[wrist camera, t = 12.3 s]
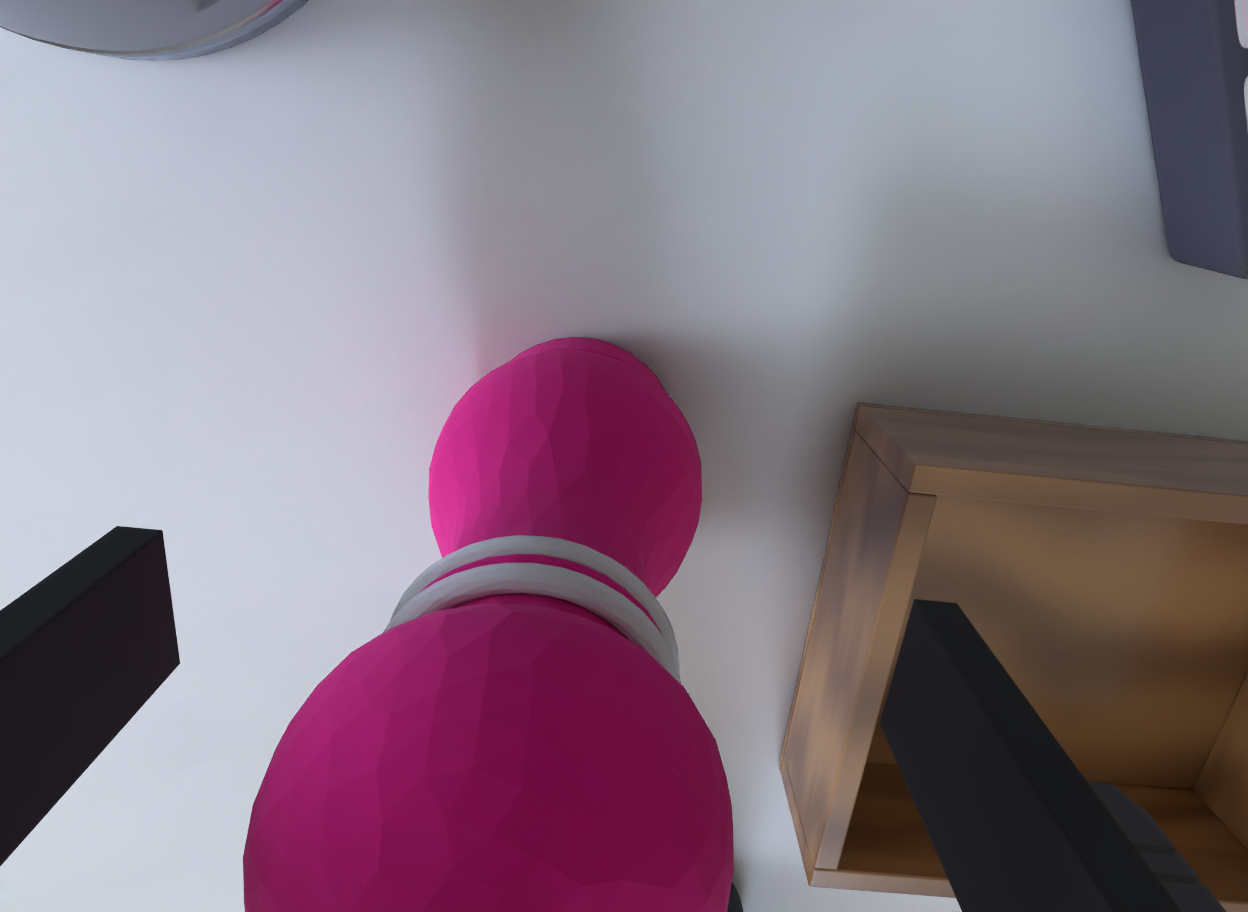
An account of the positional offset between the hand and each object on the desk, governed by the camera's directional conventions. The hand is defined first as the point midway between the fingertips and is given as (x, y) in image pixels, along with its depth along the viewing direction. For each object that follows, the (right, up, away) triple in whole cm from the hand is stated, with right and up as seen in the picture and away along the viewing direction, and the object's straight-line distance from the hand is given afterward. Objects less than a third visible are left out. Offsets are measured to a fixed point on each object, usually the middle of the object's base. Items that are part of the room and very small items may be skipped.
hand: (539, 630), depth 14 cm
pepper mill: (0, +4, +11) cm, 12 cm away
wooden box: (+16, -3, +14) cm, 21 cm away
